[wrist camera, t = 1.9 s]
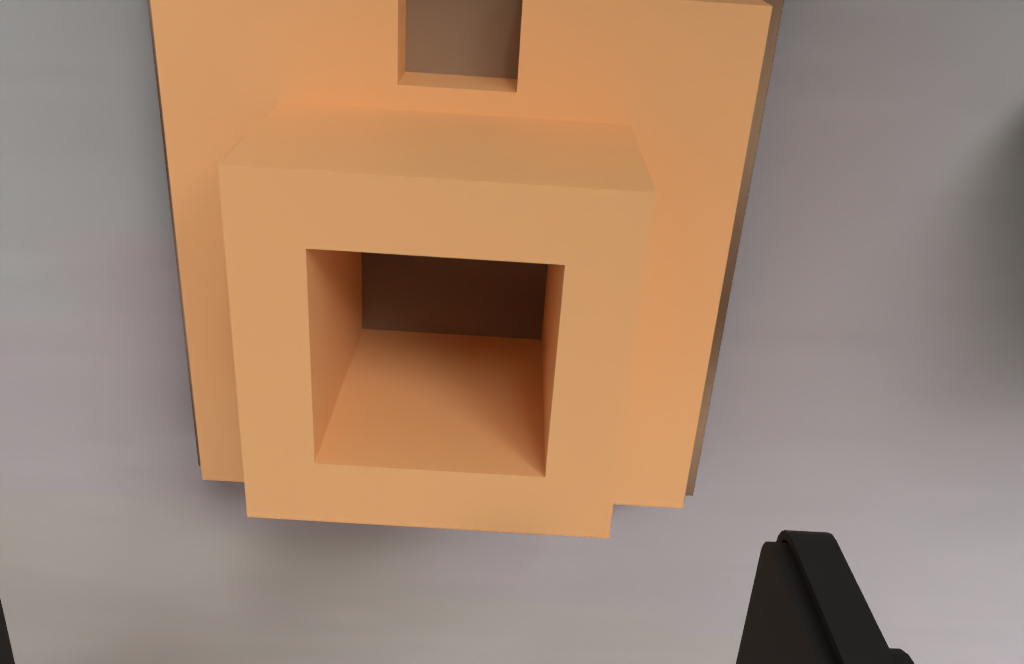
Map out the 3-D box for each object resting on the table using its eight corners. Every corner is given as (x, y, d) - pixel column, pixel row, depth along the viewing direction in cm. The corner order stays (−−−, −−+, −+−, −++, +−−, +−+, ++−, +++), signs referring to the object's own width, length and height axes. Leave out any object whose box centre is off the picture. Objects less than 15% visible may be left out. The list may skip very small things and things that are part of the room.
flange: (217, 450, 22) (136, 604, 18) (169, -43, 17) (38, -7, 13) (675, 477, 22) (713, 637, 18) (757, -3, 17) (840, 46, 13)
